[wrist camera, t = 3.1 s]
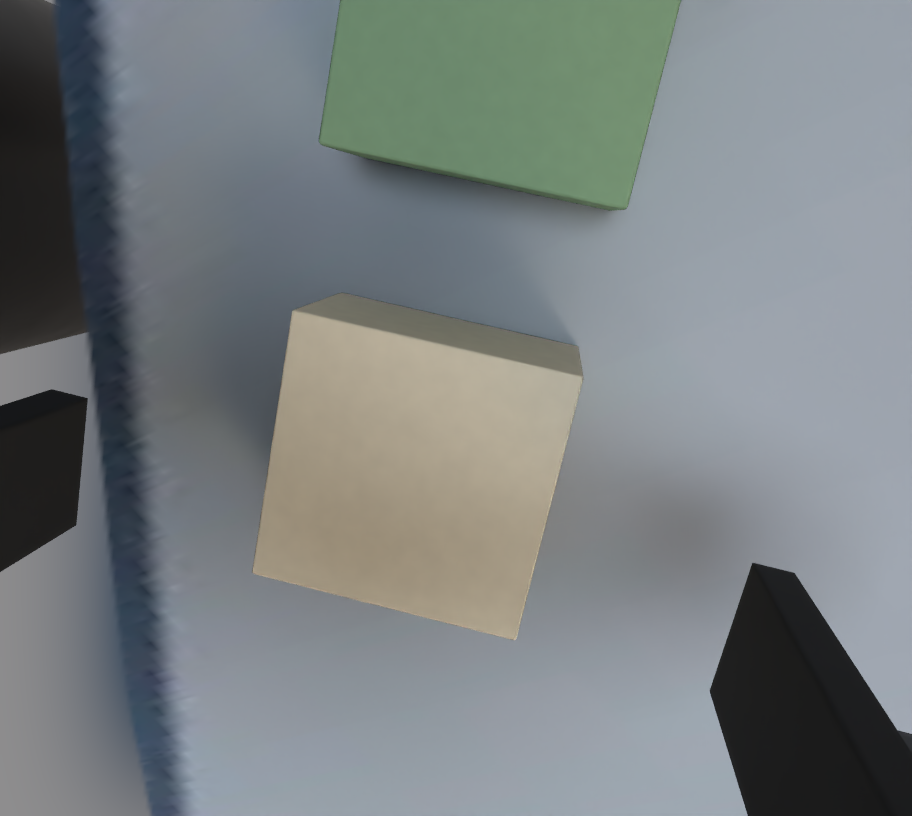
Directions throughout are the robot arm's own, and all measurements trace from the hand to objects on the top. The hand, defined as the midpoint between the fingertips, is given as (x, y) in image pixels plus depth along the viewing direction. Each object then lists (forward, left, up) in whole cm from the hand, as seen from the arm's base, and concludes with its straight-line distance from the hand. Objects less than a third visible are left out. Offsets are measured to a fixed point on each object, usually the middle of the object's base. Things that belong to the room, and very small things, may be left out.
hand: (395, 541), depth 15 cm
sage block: (0, +10, -7) cm, 12 cm away
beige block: (0, 0, -7) cm, 7 cm away
